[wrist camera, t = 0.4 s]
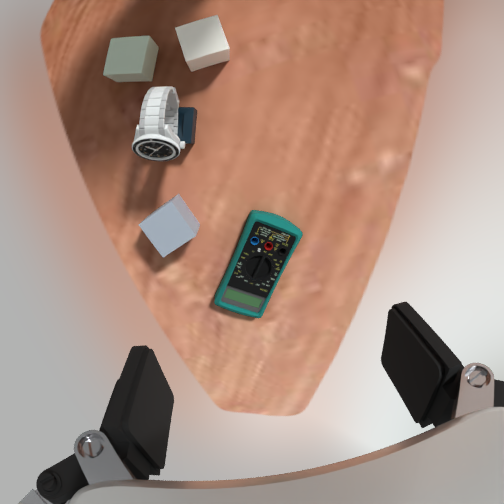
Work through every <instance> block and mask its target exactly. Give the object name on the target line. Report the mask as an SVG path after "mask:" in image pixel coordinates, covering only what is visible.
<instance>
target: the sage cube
mask: <svg viewBox="0 0 504 504" xmlns="http://www.w3.org/2000/svg"><path fill="white" fill-rule="evenodd" d="M158 49H159V47H158V46H157V45H156V43H155V42H154V41H153V39H152V38H151V37H150V36H134V37H121V38H111V41H110V45H109V49H108V54H107V58H106V63H105V67H104V72H103V75H104V76H106V77H108V78H110V79H112V80H114V81H116V82H138V81H152V79H153V74H154V69H155V64H156V59H157V54H158Z"/></svg>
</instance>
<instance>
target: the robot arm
mask: <svg viewBox="0 0 504 504" xmlns="http://www.w3.org/2000/svg"><path fill="white" fill-rule="evenodd" d="M381 362H382V365H383V367H384V369H385V371H386V372H387V374H388V376H389V377H390V379H391V381H392V382H393V384H394V386H395V387H396V389H397V391H398V393H399V394H400V396H401V398H402V400H403V401H404V403H405V405H406V407H407V408H408V410H409V412H410V414H411V416H412V417H413V419H414V421H415V422H416V423H419V424H420V425H421V427H422V428H424V427H426V426H428V425H430V424H432V423H433V425H434V426H435V428H433V429H431V430H428V431H426V432H424V433H421V434H419V435H417V436H414V437H412V438H409V439H407V440H404V441H402V442H400V443H397V444H394V445H391V446H389V447H386V448H383V449H380V450H377V451H374V452H371V453H368V454H365V455H362V456H359V457H355V458H352V459H348V460H345V461H341V462H337V463H333V464H329V465H326V466H321V467H317V468H312V469H307V470H302V471H297V472H292V473H285V474H279V475H272V476H265V477H256V478H247V479H236V480H218V481H160V480H148V479H149V475H160V469H163V468H164V466H165V458H166V451H167V444H168V437H169V430H170V423H171V416H172V409H173V403H174V396H173V393H172V391H171V389H170V387H169V385H168V382H167V380H166V378H165V376H164V374H163V372H162V370H161V367H160V365H159V363H158V361H157V358H156V356H155V354H154V351H153V350H152V349H149V348H148V347H147V346H133V347H132V348H131V350H130V353H129V355H128V358H127V361H126V363H125V366H124V368H123V371H122V373H121V376H120V379H119V380H117V382H116V384H115V387H114V390H113V393H112V395H111V398H110V401H109V404H108V407H107V410H106V412H105V415H104V418H103V421H102V424H101V427H100V430H99V431H97V430H89V431H87V432H84V433H82V434H81V435H80V436H79V437H78V438H77V439H76V441H75V444H74V452H75V453H74V454H73V455H71V456H69V457H68V458H66V459H64V460H62V461H61V462H59V463H57V464H55V465H53V466H52V467H50V468H48V469H46V470H44V471H43V472H42V473H41V474H40V475H39V477H38V479H37V490H36V491H35V490H33V489H32V490H31V491H30V492H29V493H28V494H27V495H26V496H25V497H24V498H23V499H22V500H21V501H20V502H19V504H504V381H499V380H494V374H493V373H492V371H491V369H490V368H489V367H487V366H486V365H484V364H481V363H471V364H469V365H467V366H465V368H464V366H463V365H462V363H461V361H460V360H459V359H458V358H457V357H456V356H455V354H454V353H453V352H452V351H451V350H450V349H449V347H448V346H447V345H446V344H445V343H444V342H443V341H442V339H441V338H440V337H439V336H438V335H437V334H436V333H435V332H434V331H433V330H432V328H431V327H430V326H429V325H428V324H427V323H426V322H425V321H424V320H423V318H422V317H421V316H420V315H419V314H418V313H417V312H416V311H415V310H414V309H413V308H412V307H411V306H410V305H409V304H408V303H407V302H402V303H399V304H395V305H393V306H392V309H390V310H389V312H388V319H387V326H386V334H385V340H384V345H383V351H382V356H381Z"/></svg>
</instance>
